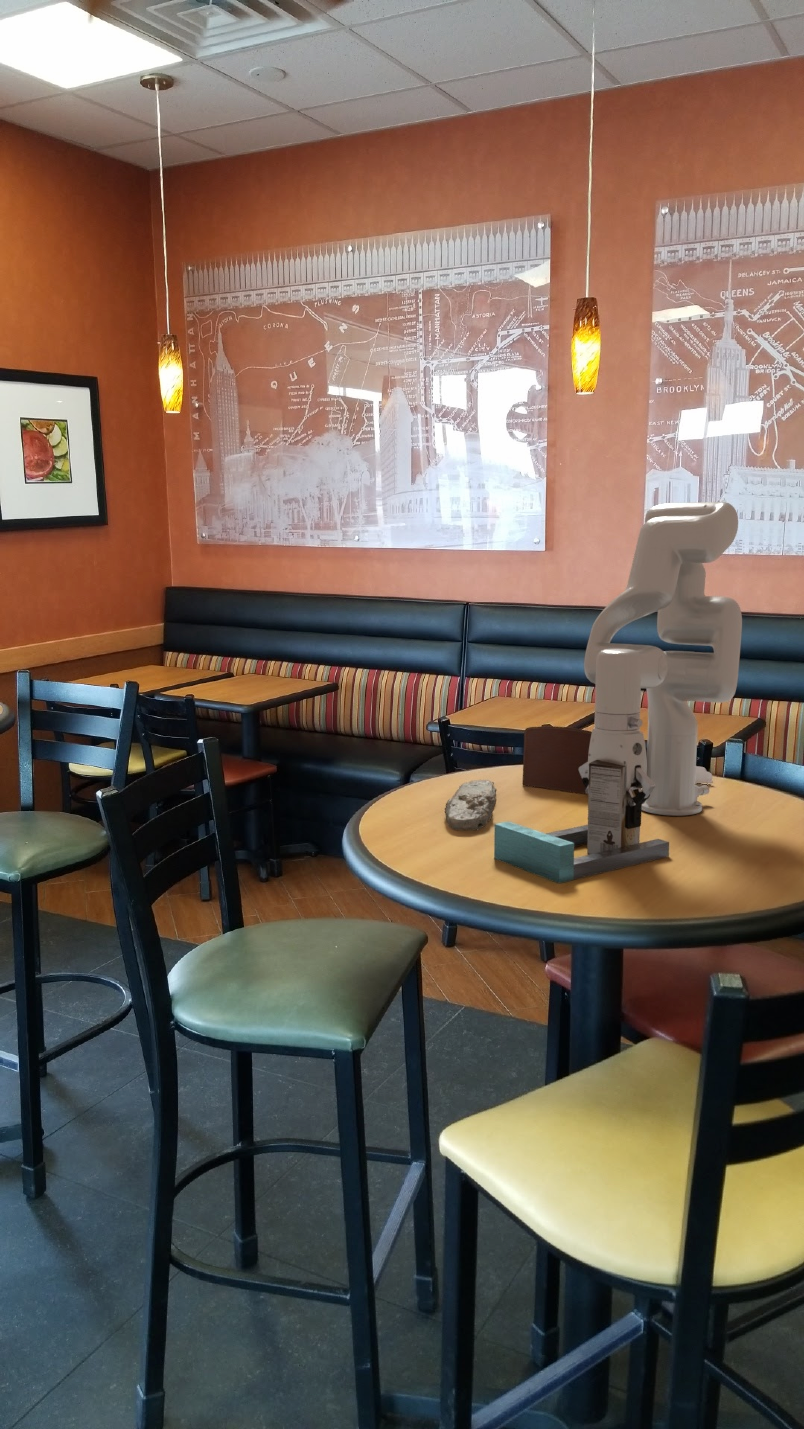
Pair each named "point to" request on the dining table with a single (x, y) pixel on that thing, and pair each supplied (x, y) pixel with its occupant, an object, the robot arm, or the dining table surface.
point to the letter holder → (555, 758)
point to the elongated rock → (471, 805)
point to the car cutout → (702, 775)
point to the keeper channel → (566, 852)
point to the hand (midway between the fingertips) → (614, 821)
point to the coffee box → (608, 808)
